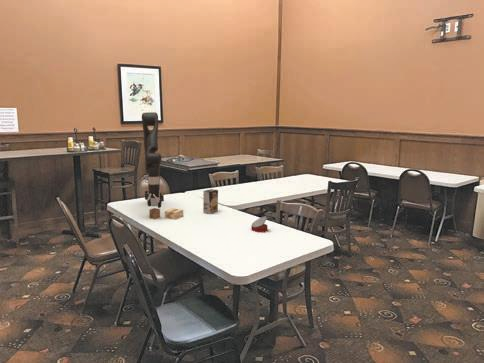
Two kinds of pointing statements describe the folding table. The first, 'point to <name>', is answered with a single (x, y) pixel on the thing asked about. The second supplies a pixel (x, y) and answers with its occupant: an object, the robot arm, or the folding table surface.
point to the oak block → (173, 213)
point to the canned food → (259, 225)
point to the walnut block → (154, 213)
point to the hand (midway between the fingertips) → (154, 206)
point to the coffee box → (210, 201)
